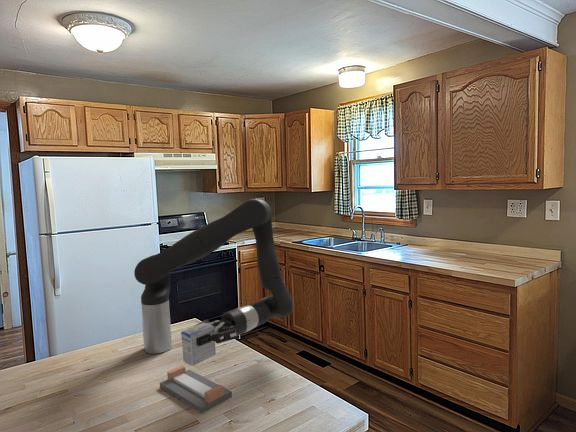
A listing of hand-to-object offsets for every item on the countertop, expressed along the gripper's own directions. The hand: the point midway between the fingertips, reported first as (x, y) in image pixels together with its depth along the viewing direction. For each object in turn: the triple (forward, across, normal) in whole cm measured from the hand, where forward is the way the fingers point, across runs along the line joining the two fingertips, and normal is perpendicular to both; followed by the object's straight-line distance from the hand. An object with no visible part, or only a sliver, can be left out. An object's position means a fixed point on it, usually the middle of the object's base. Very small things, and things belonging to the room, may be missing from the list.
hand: (191, 340), depth 106 cm
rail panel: (-2, -3, +17) cm, 17 cm away
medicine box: (-2, 0, +6) cm, 7 cm away
